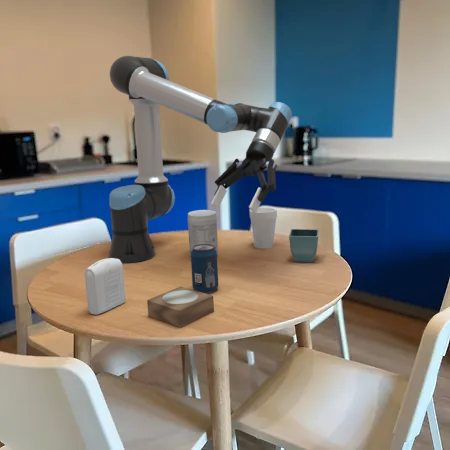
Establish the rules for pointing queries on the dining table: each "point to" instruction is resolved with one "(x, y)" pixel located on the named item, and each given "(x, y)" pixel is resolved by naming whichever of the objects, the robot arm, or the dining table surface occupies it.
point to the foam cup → (263, 226)
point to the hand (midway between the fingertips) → (232, 208)
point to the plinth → (180, 306)
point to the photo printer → (104, 285)
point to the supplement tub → (202, 228)
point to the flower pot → (303, 244)
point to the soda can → (204, 268)
